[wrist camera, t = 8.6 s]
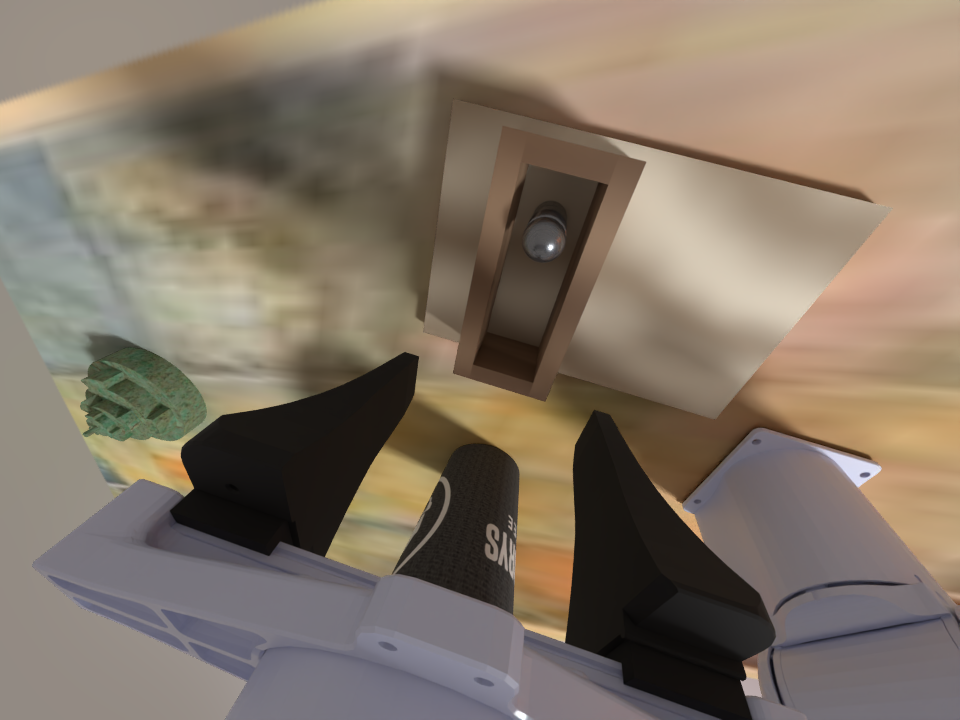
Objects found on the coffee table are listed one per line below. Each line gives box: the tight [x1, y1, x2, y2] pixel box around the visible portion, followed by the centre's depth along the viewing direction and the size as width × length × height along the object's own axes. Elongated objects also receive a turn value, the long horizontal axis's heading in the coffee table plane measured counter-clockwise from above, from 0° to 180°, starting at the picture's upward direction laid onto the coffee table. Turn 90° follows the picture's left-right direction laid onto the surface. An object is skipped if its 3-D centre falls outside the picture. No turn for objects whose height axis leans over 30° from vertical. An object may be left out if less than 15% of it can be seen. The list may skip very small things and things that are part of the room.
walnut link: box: [453, 126, 646, 401], centre depth 18 cm, size 12×6×4 cm, turn 168°
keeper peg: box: [522, 201, 567, 263], centre depth 16 cm, size 2×2×6 cm
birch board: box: [423, 99, 893, 420], centre depth 19 cm, size 13×20×1 cm, turn 78°
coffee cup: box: [392, 444, 519, 615], centre depth 25 cm, size 10×10×15 cm
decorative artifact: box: [80, 347, 207, 441], centre depth 33 cm, size 10×7×10 cm
